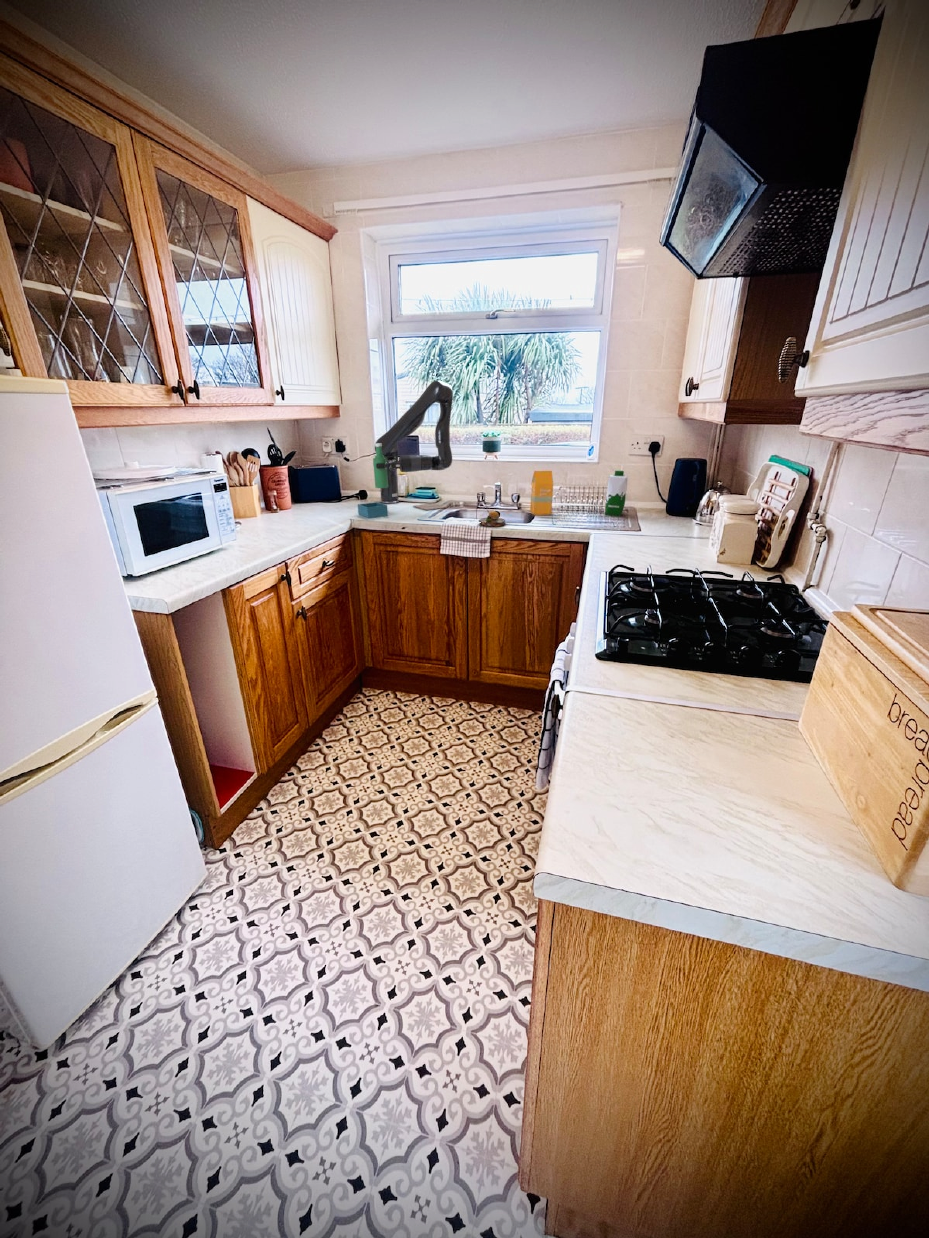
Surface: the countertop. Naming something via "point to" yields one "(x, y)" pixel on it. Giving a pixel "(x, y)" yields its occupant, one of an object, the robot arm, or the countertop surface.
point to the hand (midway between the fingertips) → (375, 465)
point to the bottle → (381, 473)
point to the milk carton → (616, 493)
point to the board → (430, 506)
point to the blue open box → (372, 510)
